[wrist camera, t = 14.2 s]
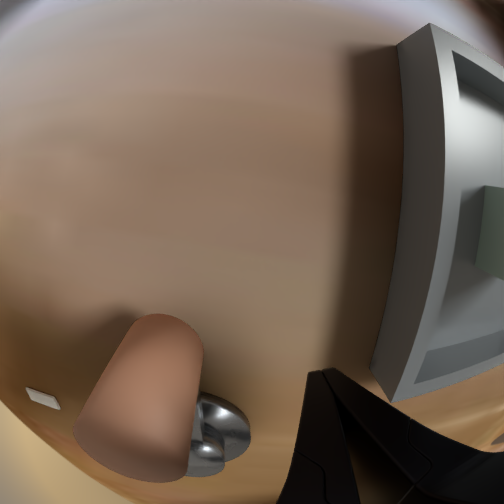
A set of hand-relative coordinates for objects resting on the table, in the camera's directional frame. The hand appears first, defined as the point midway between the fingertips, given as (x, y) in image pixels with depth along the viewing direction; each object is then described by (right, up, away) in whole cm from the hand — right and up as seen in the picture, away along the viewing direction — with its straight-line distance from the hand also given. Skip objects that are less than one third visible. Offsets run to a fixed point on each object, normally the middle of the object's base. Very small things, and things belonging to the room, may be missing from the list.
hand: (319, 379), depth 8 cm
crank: (-6, -3, +4) cm, 8 cm away
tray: (+13, +6, +4) cm, 14 cm away
